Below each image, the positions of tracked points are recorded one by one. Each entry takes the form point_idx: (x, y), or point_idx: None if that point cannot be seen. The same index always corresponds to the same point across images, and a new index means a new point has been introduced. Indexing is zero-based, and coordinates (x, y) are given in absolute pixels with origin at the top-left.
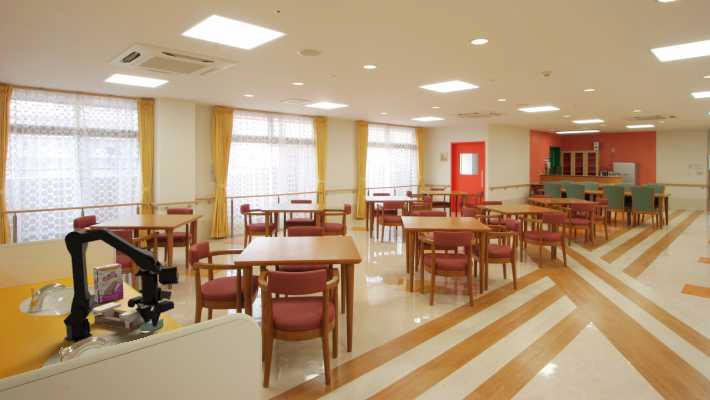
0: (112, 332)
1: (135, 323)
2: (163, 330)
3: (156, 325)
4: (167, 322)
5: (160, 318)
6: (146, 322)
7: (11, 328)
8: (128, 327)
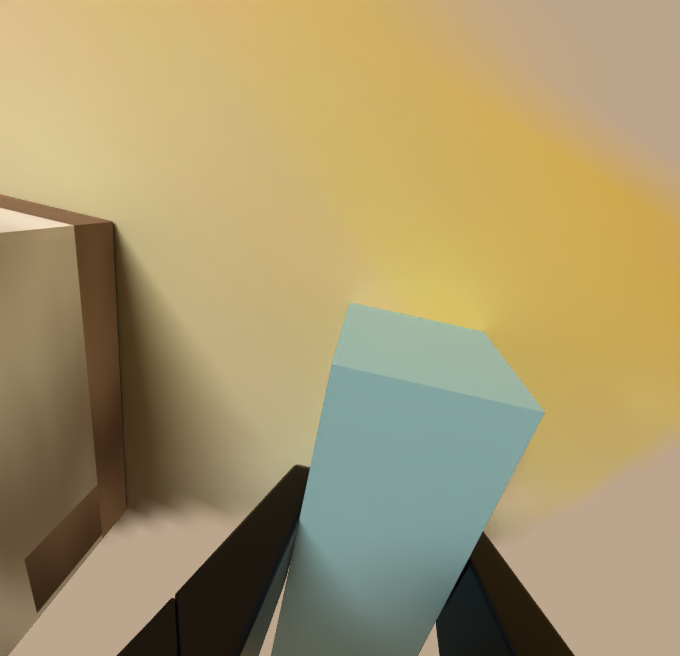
0: None
1: (69, 491)
2: (578, 480)
3: None
4: (468, 143)
5: (456, 400)
6: (290, 590)
7: None
8: (89, 545)
